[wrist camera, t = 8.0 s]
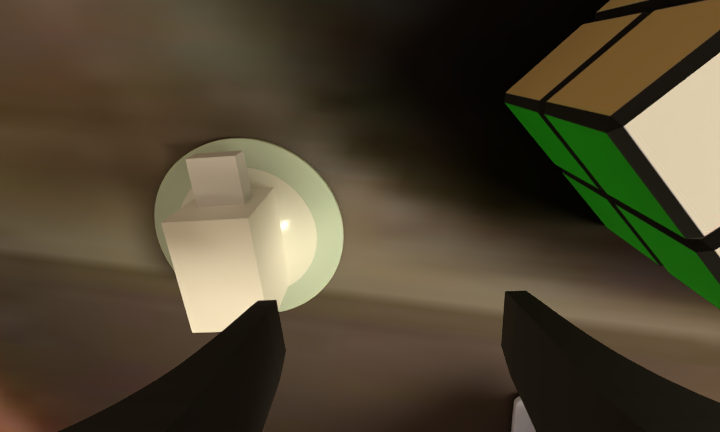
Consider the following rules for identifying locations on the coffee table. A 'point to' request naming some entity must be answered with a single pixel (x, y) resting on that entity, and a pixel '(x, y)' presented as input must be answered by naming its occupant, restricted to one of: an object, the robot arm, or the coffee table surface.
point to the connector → (225, 243)
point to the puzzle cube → (639, 128)
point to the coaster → (295, 207)
